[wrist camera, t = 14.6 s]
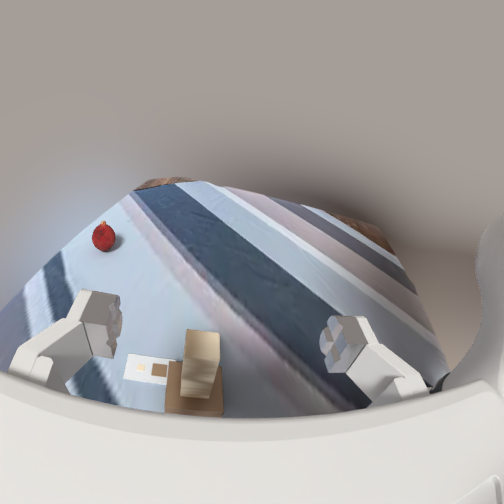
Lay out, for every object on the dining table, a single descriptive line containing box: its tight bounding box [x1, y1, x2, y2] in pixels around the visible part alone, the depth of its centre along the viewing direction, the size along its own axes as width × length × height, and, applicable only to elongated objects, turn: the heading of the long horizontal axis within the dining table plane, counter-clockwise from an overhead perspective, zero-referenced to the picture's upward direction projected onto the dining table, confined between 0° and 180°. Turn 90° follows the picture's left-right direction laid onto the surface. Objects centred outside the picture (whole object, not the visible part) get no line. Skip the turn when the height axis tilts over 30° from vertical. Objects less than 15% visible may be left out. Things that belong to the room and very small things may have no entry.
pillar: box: [180, 329, 220, 399], centre depth 35 cm, size 4×4×10 cm
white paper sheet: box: [124, 353, 176, 385], centre depth 41 cm, size 8×5×1 cm, turn 96°
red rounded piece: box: [92, 221, 115, 251], centre depth 61 cm, size 6×6×8 cm
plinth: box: [165, 361, 224, 417], centre depth 38 cm, size 8×8×3 cm
